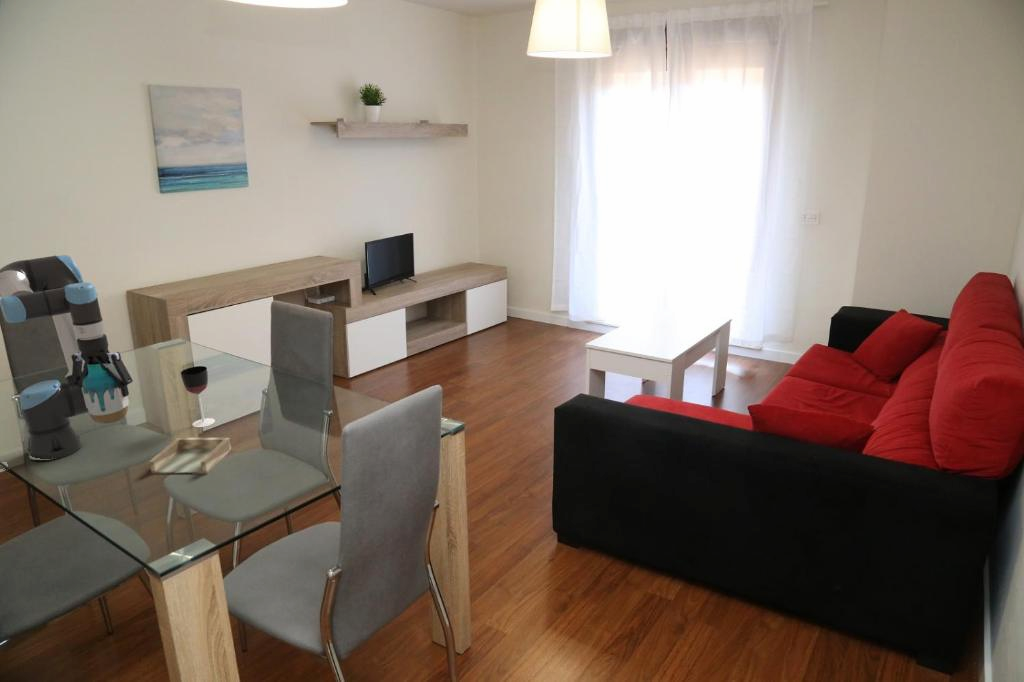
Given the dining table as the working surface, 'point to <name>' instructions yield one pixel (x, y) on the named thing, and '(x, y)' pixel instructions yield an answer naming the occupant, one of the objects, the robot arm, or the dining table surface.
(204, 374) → the wineglass
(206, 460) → the rest
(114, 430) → the dining table surface
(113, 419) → the vase
